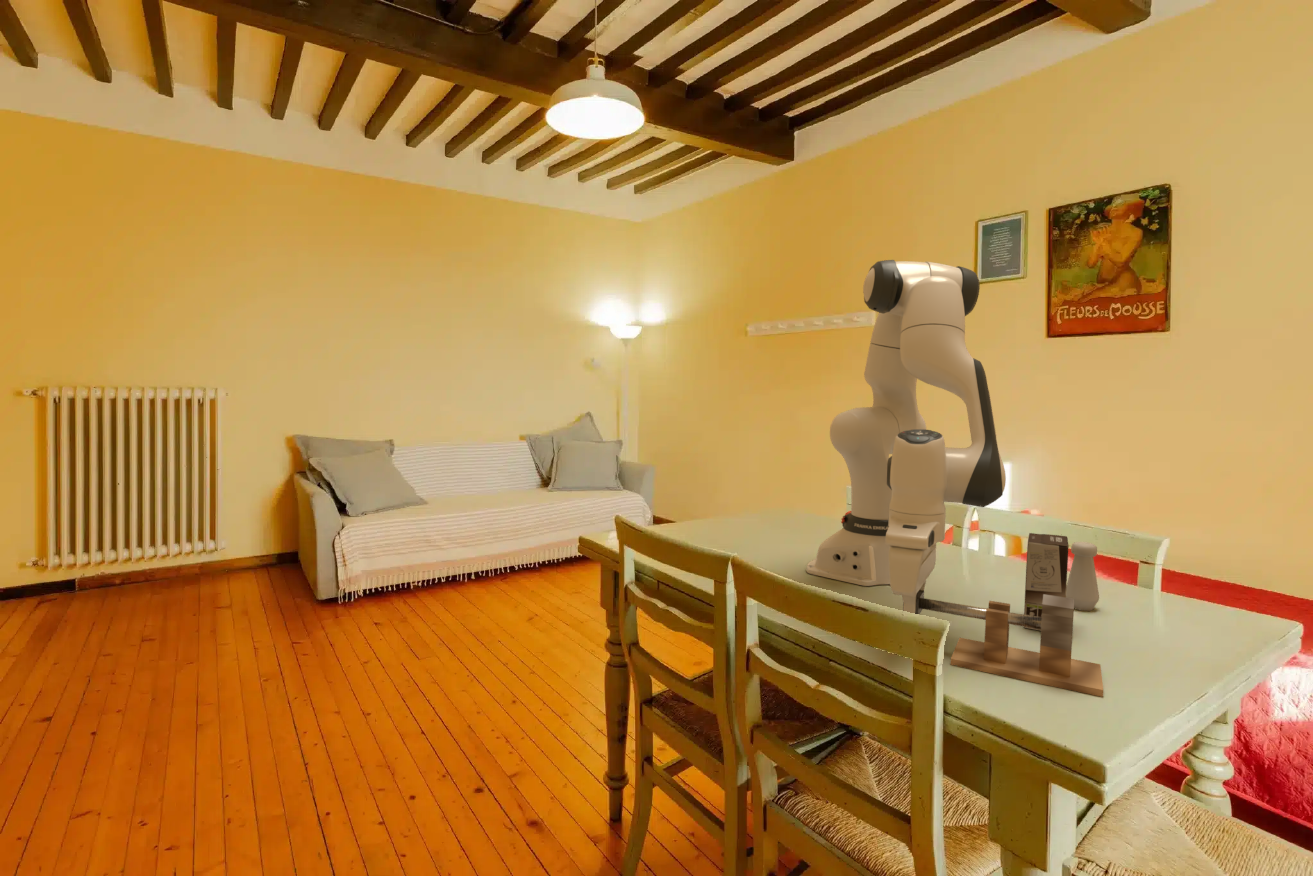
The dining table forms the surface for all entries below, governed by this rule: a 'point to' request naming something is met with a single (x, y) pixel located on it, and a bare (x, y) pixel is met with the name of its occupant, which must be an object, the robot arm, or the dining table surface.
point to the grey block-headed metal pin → (971, 611)
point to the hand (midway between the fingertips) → (913, 607)
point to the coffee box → (1045, 570)
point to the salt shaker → (1083, 577)
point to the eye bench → (1028, 665)
